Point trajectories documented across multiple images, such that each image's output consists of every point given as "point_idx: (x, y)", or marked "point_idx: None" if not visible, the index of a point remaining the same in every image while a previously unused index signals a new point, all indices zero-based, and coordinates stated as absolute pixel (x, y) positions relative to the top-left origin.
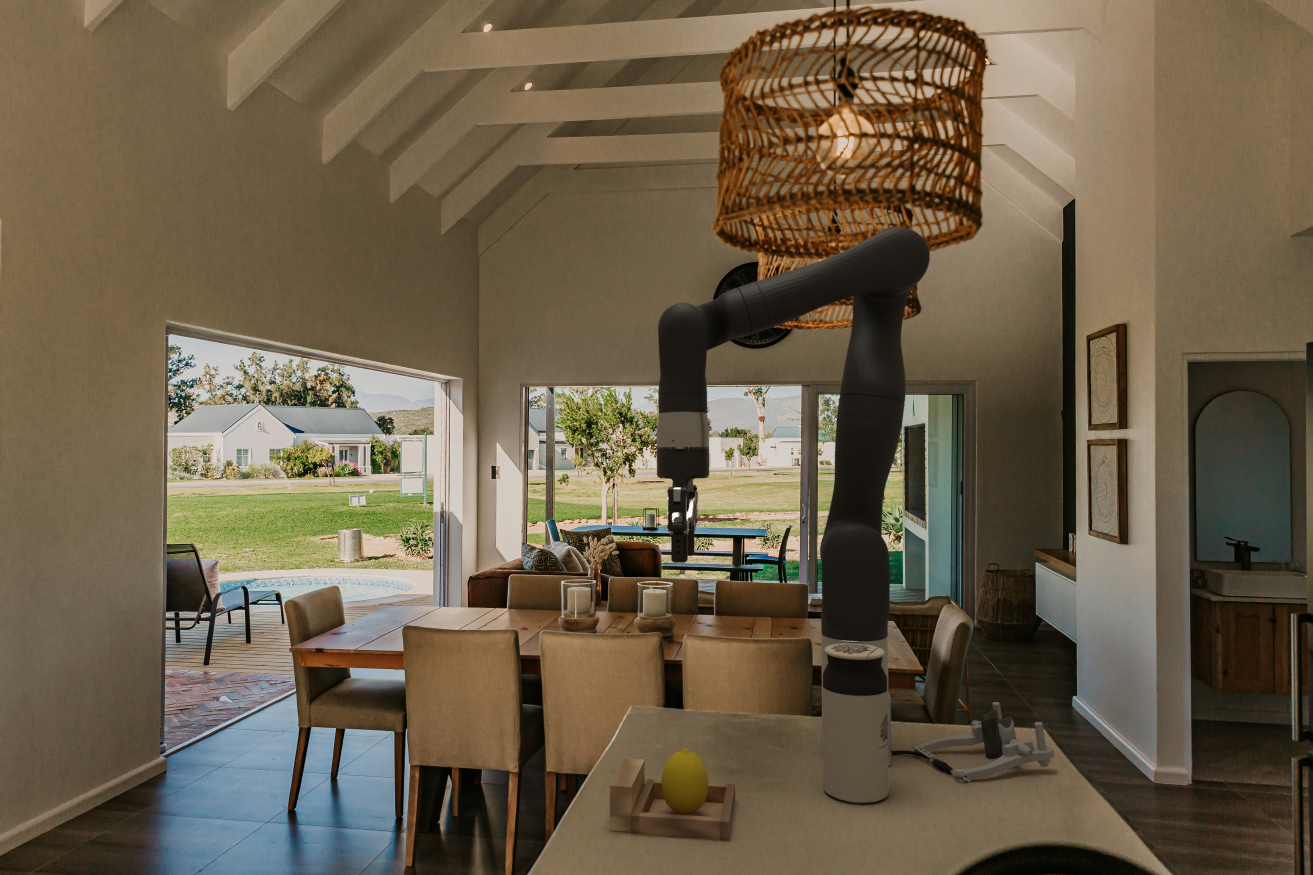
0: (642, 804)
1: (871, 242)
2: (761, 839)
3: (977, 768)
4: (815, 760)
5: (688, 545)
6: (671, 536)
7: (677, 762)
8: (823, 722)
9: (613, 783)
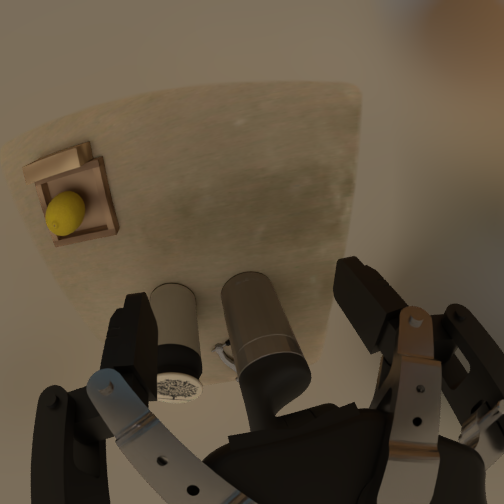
0: (51, 178)
1: None
2: (71, 258)
3: (223, 357)
4: (232, 268)
5: (349, 303)
6: (114, 363)
7: (46, 219)
8: (162, 320)
9: (26, 167)
